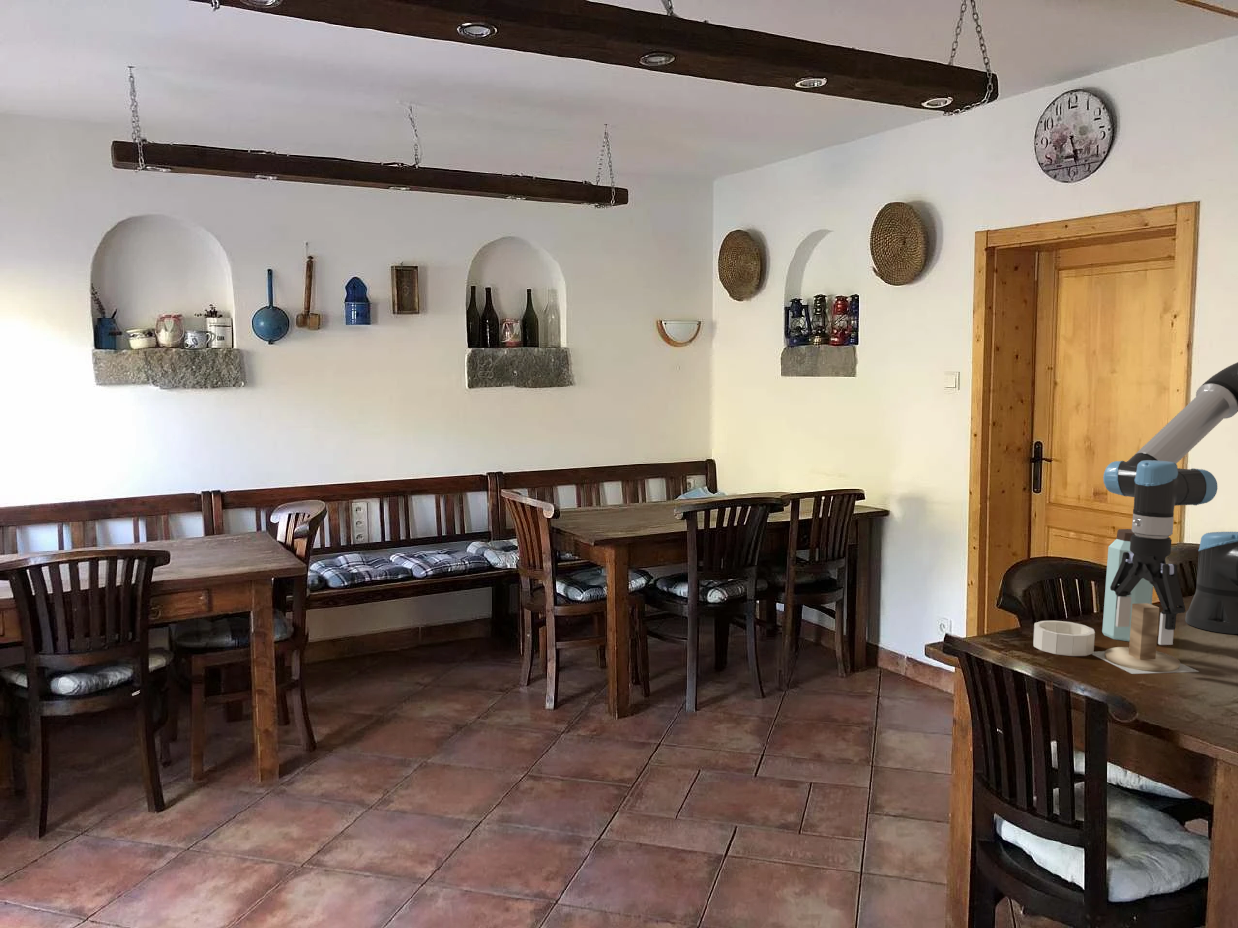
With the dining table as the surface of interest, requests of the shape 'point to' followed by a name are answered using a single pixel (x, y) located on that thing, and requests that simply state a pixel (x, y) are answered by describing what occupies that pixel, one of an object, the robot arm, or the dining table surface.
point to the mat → (1133, 671)
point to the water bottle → (1138, 594)
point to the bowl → (1064, 638)
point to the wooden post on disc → (1143, 643)
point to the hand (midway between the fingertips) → (1143, 635)
